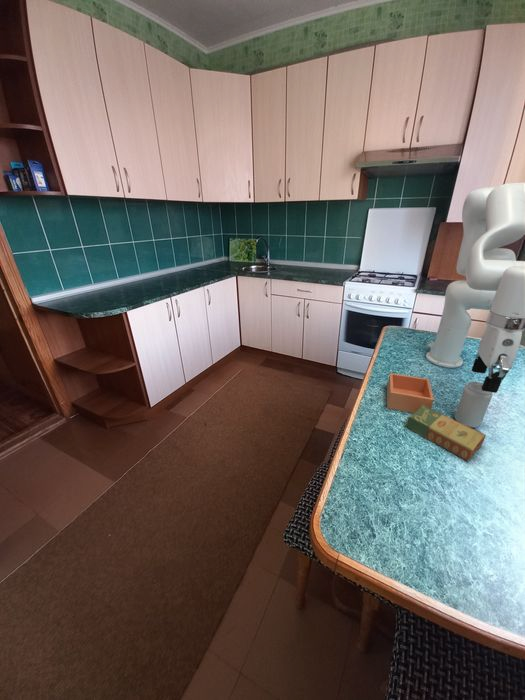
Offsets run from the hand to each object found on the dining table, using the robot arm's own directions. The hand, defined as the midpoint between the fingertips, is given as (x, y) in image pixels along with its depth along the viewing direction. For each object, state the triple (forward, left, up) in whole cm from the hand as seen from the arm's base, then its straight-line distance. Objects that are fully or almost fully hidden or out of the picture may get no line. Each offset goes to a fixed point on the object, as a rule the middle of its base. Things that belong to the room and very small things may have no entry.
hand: (483, 381), depth 77 cm
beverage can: (0, 0, -14) cm, 14 cm away
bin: (-12, -11, -14) cm, 22 cm away
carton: (+4, -11, -14) cm, 18 cm away
